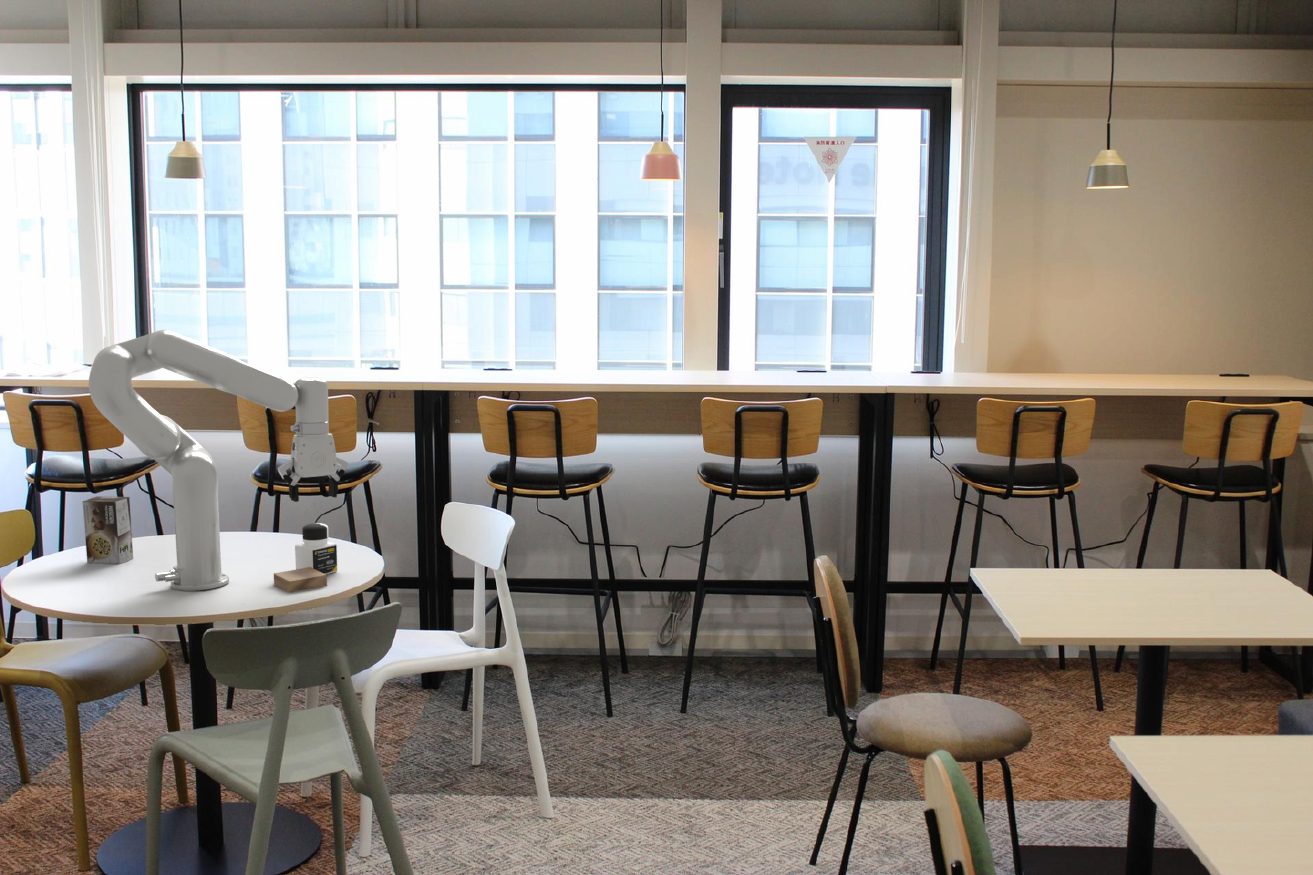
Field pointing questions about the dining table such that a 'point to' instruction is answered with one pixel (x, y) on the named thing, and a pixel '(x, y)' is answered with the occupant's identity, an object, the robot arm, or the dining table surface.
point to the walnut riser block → (300, 579)
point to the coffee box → (108, 529)
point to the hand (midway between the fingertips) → (314, 498)
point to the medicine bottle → (316, 549)
